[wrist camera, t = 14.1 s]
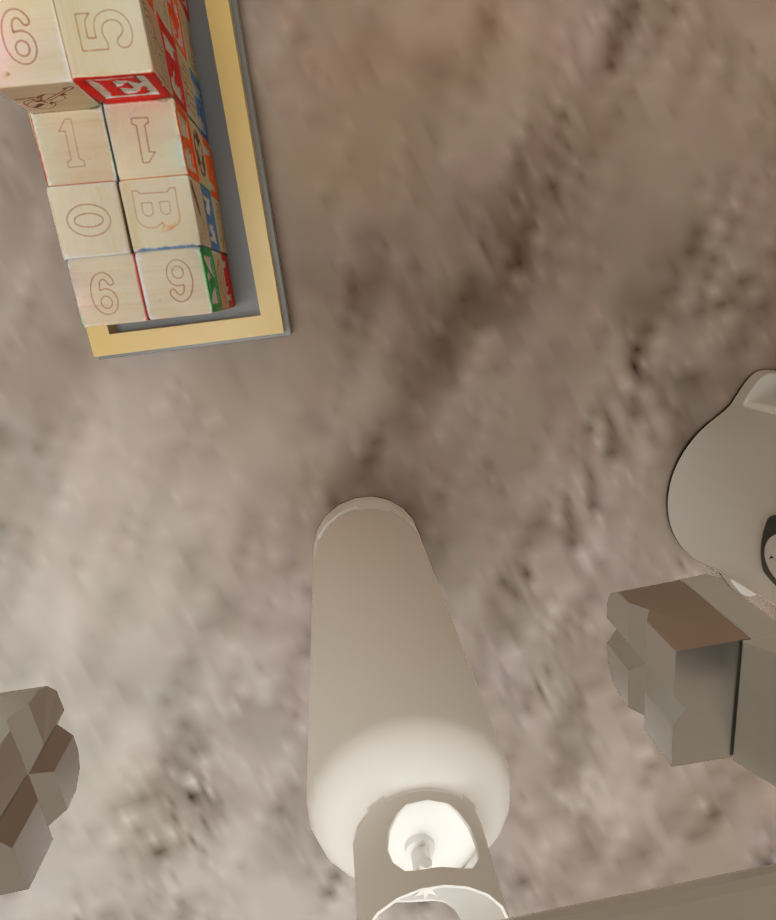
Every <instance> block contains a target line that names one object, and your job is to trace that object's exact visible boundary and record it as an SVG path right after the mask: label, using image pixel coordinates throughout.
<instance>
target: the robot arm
mask: <svg viewBox="0 0 776 920" xmlns="http://www.w3.org/2000/svg"><path fill="white" fill-rule="evenodd" d="M668 515H669V521H670V525H671V528H672V531H673V533H674V535H675V537H676V539H677V541H678V542H679V544H680V545H681V546H682V548H683V549H684V550H685V551H686V552H687V553H688V554H689V555H690V556H692V557H693V558H694V559H696V560H697V561H699V562H701V563H703V564H705V565H707V566H709V567H711V568H714V569H715V570H717V571H718V572H720V573H721V575H722V576H723V578H724V579H725V581H726V582H727V583H728V584H729V586H730V587H731V588H732V589H731V588H730V587H729V586H727V585H726V584H725V583H723V582H722V581H721V580H719V579H718V578H717V577H715V576H711V575H707V574H704V575H699V576H694V577H689V578H685V579H680V580H675V581H672V582H667V583H662V584H656V585H651V586H646V587H640V588H635V589H630V590H624V591H619V592H614V593H610V595H609V599H608V602H607V618H608V620H609V621H610V622H611V623H612V624H613V626H614V627H615V628H616V631H615V632H614V634H613V635H612V637H611V638H610V640H609V641H608V643H607V655H608V665H609V669H610V673H611V677H612V680H613V683H614V685H615V687H616V689H617V691H618V693H619V695H620V696H621V698H622V699H623V701H624V702H625V704H626V705H627V707H629V708H631V709H633V710H635V711H637V712H639V713H641V714H643V715H644V730H645V732H646V733H647V734H648V736H649V737H650V738H651V740H652V741H653V742H654V744H655V745H656V747H657V748H658V749H659V751H660V752H661V753H662V755H663V756H664V758H665V759H666V760H667V762H668V763H669V764H670V766H671V767H673V766H680V765H686V764H692V763H698V762H705V761H711V760H717V759H724V758H730V757H733V761H735V762H737V763H738V764H740V765H742V766H743V767H745V768H746V769H748V770H750V771H751V772H753V773H755V774H756V775H758V776H760V777H761V778H763V779H764V780H766V781H768V782H769V783H771V784H773V785H774V786H776V621H775V620H773V619H772V618H771V617H769V616H768V615H767V614H765V613H764V612H762V611H761V610H760V609H758V608H757V607H756V606H754V605H753V604H752V603H750V602H749V601H748V600H746V599H745V598H744V597H742V596H741V595H740V594H742V595H744V596H749V597H750V596H755V595H758V596H760V597H762V598H764V599H765V600H767V601H769V602H771V603H772V604H774V605H776V371H775V370H760V371H757V372H756V373H754V374H753V375H751V376H750V377H749V378H748V380H747V381H746V382H745V384H744V385H743V386H742V388H741V389H740V391H739V392H738V394H737V395H736V397H735V399H734V400H733V402H732V404H731V405H730V406H729V407H728V408H727V409H726V410H725V411H724V412H722V413H721V414H720V415H719V416H717V417H716V418H715V419H714V420H712V421H711V422H710V423H709V424H708V425H706V426H705V427H704V428H703V429H702V430H701V431H700V432H699V433H698V434H697V435H696V436H695V438H694V439H693V440H692V441H691V443H690V444H689V445H688V447H687V448H686V450H685V451H684V453H683V454H682V456H681V458H680V460H679V462H678V464H677V466H676V468H675V471H674V473H673V476H672V479H671V483H670V488H669V494H668ZM733 589H734V590H735V591H734V590H733ZM736 591H737V592H738V593H740V594H738V593H737V592H736ZM63 711H64V708H63V706H62V703H61V701H60V698H59V696H58V693H57V691H56V690H54V689H52V688H50V687H48V686H44V687H37V688H30V689H24V690H17V691H10V692H3V693H0V895H3V894H8V893H12V892H17V891H21V890H26V889H29V888H30V885H31V883H32V881H33V879H34V877H35V875H36V873H37V871H38V869H39V867H40V865H41V863H42V861H43V859H44V857H45V855H46V852H47V850H48V848H49V846H50V844H51V842H52V840H53V838H52V835H51V832H50V830H49V827H48V826H49V825H50V824H51V823H52V822H53V821H54V820H56V819H57V818H58V817H59V816H60V815H61V814H62V813H63V812H64V811H66V810H67V809H68V807H69V804H70V802H71V800H72V798H73V795H74V793H75V791H76V787H77V781H78V775H79V769H80V765H79V755H78V748H77V745H76V742H75V739H74V736H73V735H72V734H70V733H69V732H67V731H66V730H65V729H63V728H62V727H60V726H59V725H57V724H58V722H59V720H60V718H61V716H62V714H63ZM501 920H776V863H775V864H770V865H766V866H761V867H756V868H751V869H746V870H741V871H736V872H732V873H727V874H722V875H717V876H712V877H707V878H702V879H697V880H692V881H688V882H683V883H678V884H673V885H668V886H663V887H658V888H653V889H648V890H643V891H639V892H634V893H629V894H624V895H619V896H614V897H609V898H604V899H599V900H594V901H590V902H585V903H580V904H575V905H570V906H565V907H560V908H555V909H550V910H545V911H541V912H536V913H531V914H526V915H521V916H516V917H511V918H506V919H501Z"/></svg>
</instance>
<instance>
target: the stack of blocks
mask: <svg viewBox="0 0 776 920" xmlns="http://www.w3.org/2000/svg"><path fill="white" fill-rule="evenodd" d="M189 22H190V16H189V9H188V3H187V0H0V94H1V95H3V96H4V97H6V98H7V99H9V100H10V101H12V102H14V103H15V104H17V105H18V106H20V107H22V108H23V109H25V110H26V111H28V112H29V113H30V118H31V122H32V126H33V130H34V134H35V138H36V142H37V146H38V150H39V154H40V158H41V162H42V166H43V170H44V174H45V178H46V182H47V185H48V187H47V194H48V199H49V203H50V207H51V211H52V215H53V219H54V223H55V227H56V231H57V235H58V239H59V243H60V247H61V251H62V255H63V258H64V260H66V261H67V263H68V269H69V274H70V278H71V282H72V286H73V289H74V294H75V298H76V302H77V305H78V310H79V314H80V318H81V322H82V325H83V327H95V326H104V325H114V324H123V323H133V322H142V321H149V320H156V319H166V318H173V317H183V316H193V315H202V314H211V313H216V312H219V311H222V310H226V309H229V308H233V307H235V299H234V294H233V289H232V283H231V277H230V271H229V266H228V259H227V257H226V254H227V253H228V251H227V245H226V238H225V232H224V226H223V220H222V214H221V208H220V204H219V194H218V188H217V182H216V175H215V169H214V163H213V157H212V150H211V147H210V145H209V141H208V134H207V128H206V122H205V116H204V109H203V103H202V96H201V90H200V86H199V81H198V74H197V68H196V61H195V55H194V49H193V43H192V37H191V31H190V26H189Z"/></svg>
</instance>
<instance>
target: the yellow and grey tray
mask: <svg viewBox="0 0 776 920" xmlns="http://www.w3.org/2000/svg"><path fill="white" fill-rule="evenodd" d="M187 3H188V9H189V16H190V22H189V26H190V31H191V37H192V43H193V49H194V55H195V61H196V68H197V74H198V81H199V86H200V90H201V96H202V103H203V109H204V116H205V122H206V128H207V134H208V141H209V145H210V147H211V150H212V157H213V163H214V169H215V175H216V182H217V188H218V194H219V204H220V208H221V214H222V220H223V226H224V232H225V238H226V245H227V251H228V253H227V254H226V257H227V259H228V266H229V271H230V277H231V283H232V289H233V294H234V299H235V307H233V308H229V309H226V310H222V311H219V312H216V313H211V314H202V315H193V316H183V317H173V318H166V319H156V320H149V321H142V322H133V323H123V324H114V325H104V326H95V327H86V329H87V333H88V336H89V340H90V344H91V348H92V351H93V355H94V357H99V360H100V359H108V358H116V357H123V356H131V355H139V354H147V353H155V352H162V351H170V350H178V349H186V348H194V347H202V346H209V345H217V344H225V343H233V342H241V341H248V340H256V339H264V338H272V337H280V336H288V335H291V334H292V328H291V322H290V316H289V309H288V303H287V297H286V291H285V285H284V279H283V273H282V267H281V260H280V254H279V248H278V242H277V236H276V230H275V224H274V218H273V212H272V205H271V199H270V193H269V187H268V181H267V175H266V169H265V163H264V156H263V150H262V144H261V138H260V132H259V126H258V120H257V114H256V107H255V101H254V95H253V89H252V83H251V77H250V71H249V65H248V58H247V52H246V46H245V40H244V34H243V28H242V22H241V16H240V9H239V3H238V0H187ZM28 114H29V117H30V113H29V112H28ZM30 121H31V118H30ZM31 125H32V122H31ZM32 128H33V126H32ZM33 132H34V130H33ZM34 136H35V134H34ZM35 140H36V138H35ZM36 143H37V142H36ZM37 147H38V146H37ZM38 151H39V150H38Z"/></svg>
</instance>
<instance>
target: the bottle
mask: <svg viewBox="0 0 776 920" xmlns="http://www.w3.org/2000/svg"><path fill="white" fill-rule="evenodd" d="M509 804H510V769H509V766H508V764H507V761H506V759H505V756H504V753H503V751H502V748H501V746H500V743H499V740H498V738H497V735H496V733H495V730H494V727H493V725H492V722H491V720H490V717H489V714H488V712H487V709H486V707H485V704H484V701H483V699H482V696H481V694H480V691H479V689H478V686H477V683H476V681H475V678H474V676H473V673H472V670H471V668H470V665H469V663H468V660H467V657H466V655H465V652H464V650H463V647H462V644H461V642H460V639H459V637H458V634H457V631H456V629H455V626H454V624H453V621H452V618H451V616H450V613H449V611H448V608H447V606H446V603H445V600H444V598H443V595H442V593H441V590H440V587H439V585H438V582H437V580H436V577H435V574H434V572H433V569H432V567H431V564H430V561H429V559H428V556H427V554H426V551H425V548H424V546H423V544H422V541H421V538H420V535H419V533H418V531H417V528H416V526H415V524H414V521H413V519H412V518H411V517H410V516H409V515H408V513H407V512H406V511H405V510H404V509H403V508H402V507H400V506H398V505H396V504H395V503H393V502H391V501H389V500H386V499H381V498H376V497H362V498H354V499H352V500H349V501H347V502H345V503H342V504H340V505H338V506H337V507H336V508H334V509H333V510H332V511H331V512H330V513H329V514H327V515H326V516H325V518H324V520H323V521H322V523H321V524H320V526H319V528H318V529H317V533H316V537H315V542H314V560H313V592H312V628H311V663H310V699H309V734H308V769H307V807H308V814H309V821H310V827H311V829H312V831H313V832H314V834H315V836H316V838H317V840H318V842H319V844H320V845H321V847H322V848H323V850H324V852H325V853H326V855H327V857H328V858H329V860H330V861H331V862H332V863H334V864H335V865H336V866H338V867H339V868H340V869H341V870H343V871H344V872H345V873H347V874H348V875H349V876H351V877H353V878H355V891H356V909H357V920H380V913H381V912H383V911H384V910H385V909H387V908H388V907H389V906H391V905H392V904H394V903H395V902H420V901H440V902H445V903H446V904H448V905H449V906H450V907H451V908H453V909H454V910H455V911H456V912H457V914H458V916H459V918H460V920H501V919H506V918H509V915H508V912H507V908H506V905H505V902H504V898H503V895H502V891H501V888H500V885H499V881H498V878H497V874H496V871H495V868H494V864H493V861H492V858H491V854H490V851H489V847H490V846H491V845H492V843H493V842H494V841H495V840H496V838H497V837H498V836H499V835H500V833H501V830H502V827H503V825H504V822H505V819H506V817H507V814H508V811H509Z"/></svg>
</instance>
